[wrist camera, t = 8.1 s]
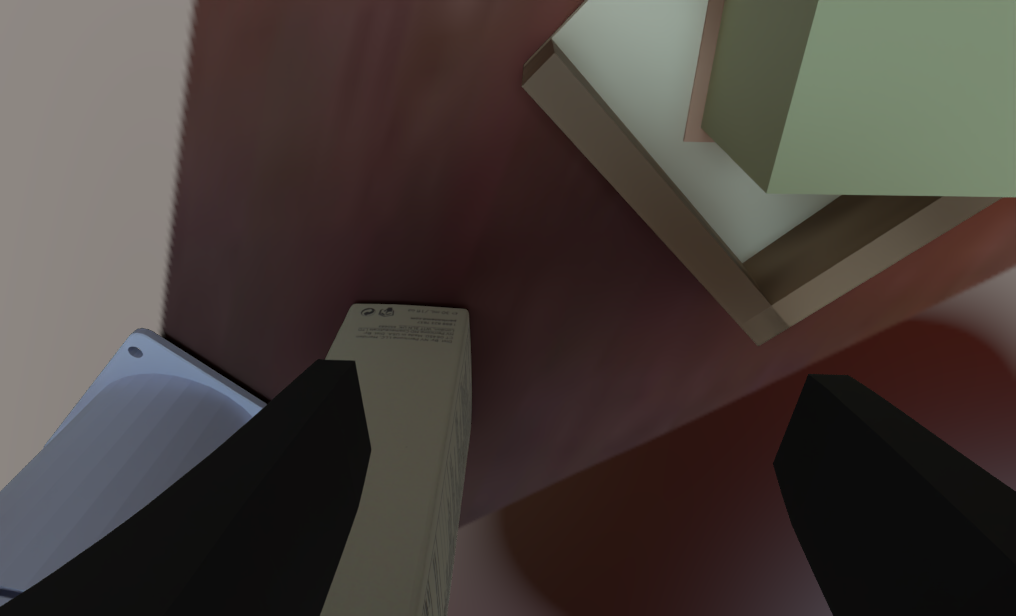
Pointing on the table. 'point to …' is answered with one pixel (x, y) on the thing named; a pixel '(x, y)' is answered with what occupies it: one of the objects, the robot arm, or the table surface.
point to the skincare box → (406, 458)
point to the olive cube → (868, 96)
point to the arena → (713, 167)
